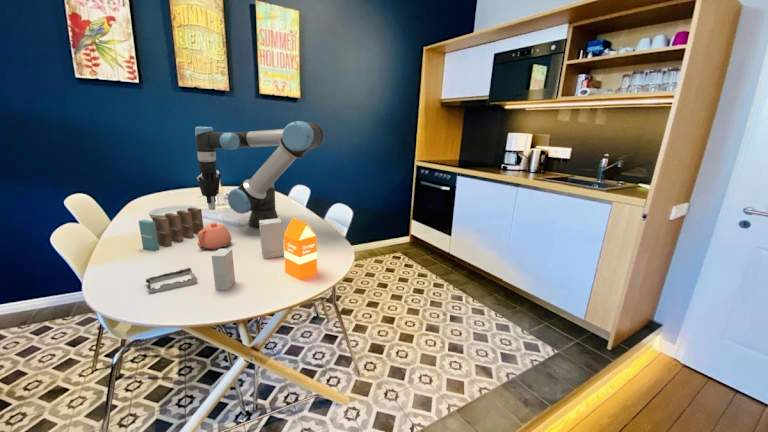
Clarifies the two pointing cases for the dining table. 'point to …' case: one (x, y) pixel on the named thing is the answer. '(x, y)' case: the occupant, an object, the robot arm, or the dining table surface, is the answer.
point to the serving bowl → (168, 210)
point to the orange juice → (300, 250)
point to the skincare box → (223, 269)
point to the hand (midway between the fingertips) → (212, 209)
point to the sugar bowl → (214, 236)
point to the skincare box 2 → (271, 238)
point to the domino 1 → (148, 235)
